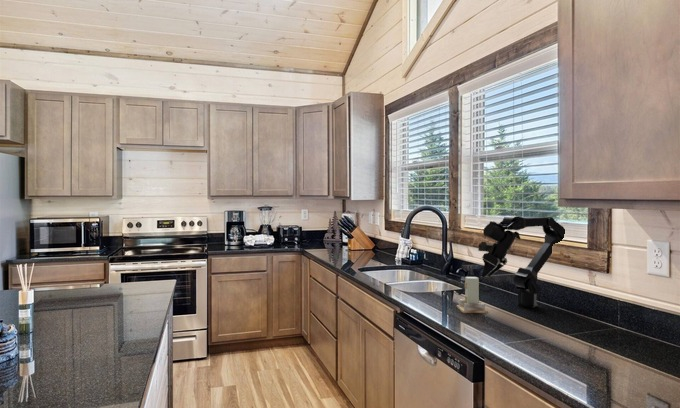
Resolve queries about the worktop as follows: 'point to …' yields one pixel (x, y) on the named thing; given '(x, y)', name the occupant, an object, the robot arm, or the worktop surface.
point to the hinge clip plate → (471, 307)
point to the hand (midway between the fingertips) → (485, 276)
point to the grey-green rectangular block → (471, 290)
